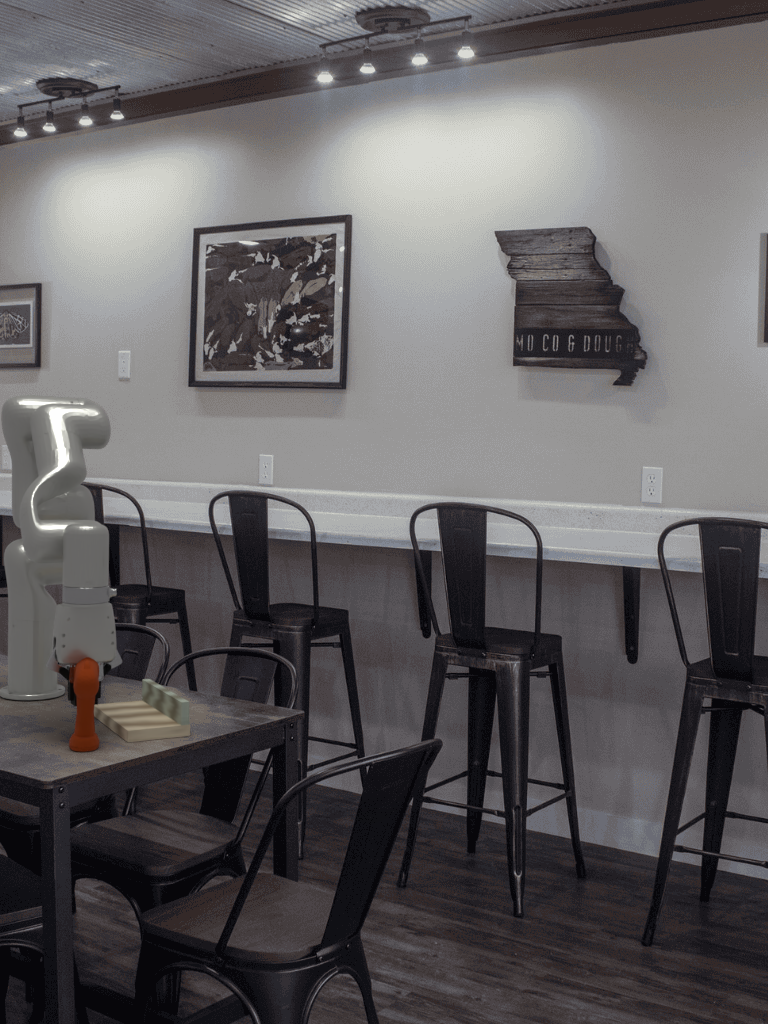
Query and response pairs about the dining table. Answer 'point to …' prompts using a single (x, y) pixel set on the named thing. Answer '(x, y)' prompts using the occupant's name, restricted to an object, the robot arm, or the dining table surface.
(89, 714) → the toy drill
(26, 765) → the dining table surface
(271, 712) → the dining table surface
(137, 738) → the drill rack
